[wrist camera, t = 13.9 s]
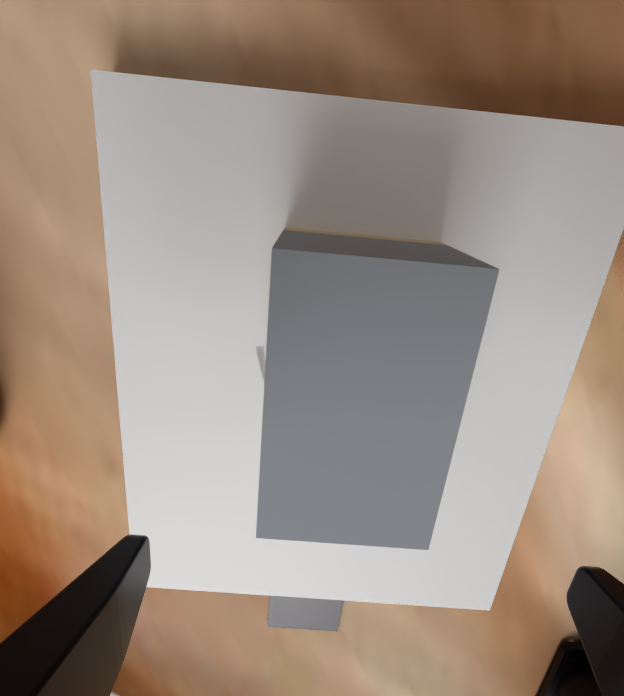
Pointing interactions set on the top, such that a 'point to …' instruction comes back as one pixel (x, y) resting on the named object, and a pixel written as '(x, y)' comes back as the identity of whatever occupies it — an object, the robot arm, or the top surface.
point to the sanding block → (365, 384)
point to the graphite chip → (304, 613)
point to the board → (253, 303)
